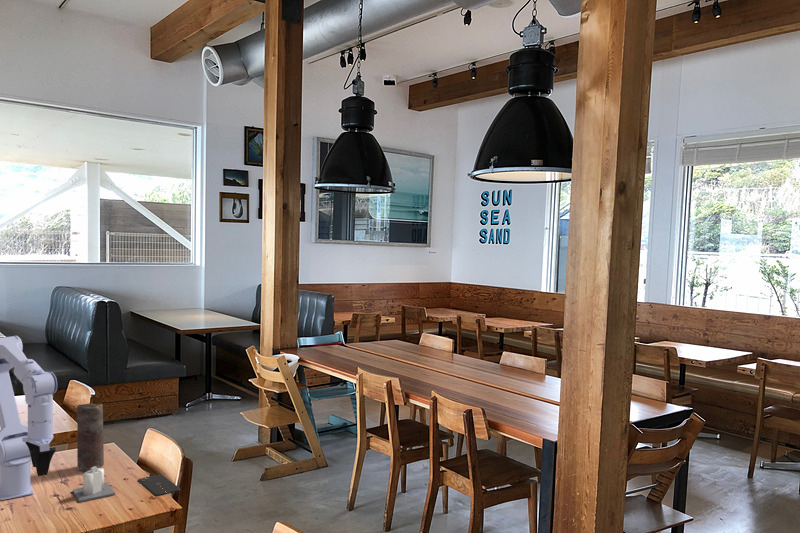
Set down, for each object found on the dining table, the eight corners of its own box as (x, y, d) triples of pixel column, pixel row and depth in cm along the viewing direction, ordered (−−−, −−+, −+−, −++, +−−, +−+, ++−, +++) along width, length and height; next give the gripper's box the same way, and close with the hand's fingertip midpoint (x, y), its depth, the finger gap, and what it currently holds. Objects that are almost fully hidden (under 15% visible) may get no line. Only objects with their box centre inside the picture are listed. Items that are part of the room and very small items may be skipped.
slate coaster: (72, 491, 176) (72, 489, 176) (107, 484, 182) (107, 482, 182) (79, 502, 169) (79, 500, 169) (115, 495, 174) (115, 492, 174)
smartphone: (155, 495, 174) (136, 478, 185) (155, 498, 174) (136, 481, 185) (181, 488, 179) (161, 472, 190) (181, 491, 179) (161, 475, 190)
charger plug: (80, 493, 173) (80, 469, 173) (99, 486, 178) (99, 463, 178) (88, 496, 172) (88, 471, 172) (106, 488, 177) (106, 465, 177)
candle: (72, 468, 193) (72, 404, 192) (95, 461, 199) (95, 399, 198) (85, 474, 189) (85, 408, 188) (108, 467, 195) (109, 403, 194)
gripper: (18, 415, 168) (18, 465, 168) (26, 429, 156) (26, 482, 157) (48, 411, 172) (48, 460, 173) (58, 424, 160) (58, 476, 161)
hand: (40, 470), depth 165 cm, fingers open, 7 cm apart
